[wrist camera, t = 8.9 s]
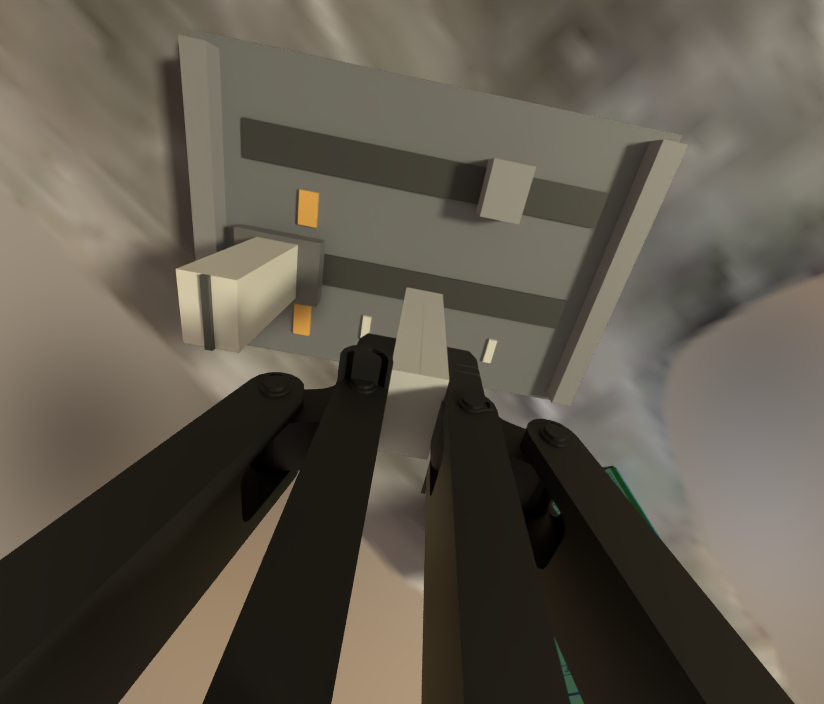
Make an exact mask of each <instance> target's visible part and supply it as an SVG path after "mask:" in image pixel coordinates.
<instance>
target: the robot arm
mask: <svg viewBox="0 0 824 704" xmlns="http://www.w3.org/2000/svg"><path fill="white" fill-rule="evenodd" d="M478 368H479V367H478V363H477V359H476V358H475V357H474V356H473V355H472V354H471V352H470V351H466V350H461V349H456V348H450V347H447V344H446V331H445V317H444V304H443V294H438V293H433V292H428V291H423V290H418V289H413V288H408V287H407V288H406V293H405V298H404V303H403V308H402V313H401V319H400V324H399V329H398V334H397V338H392V337H386V336H381V335H376V334H371V333H367V334H366V335H364V336H363V337H361V338H359V341H358V343H357V345H352V346H349V347H347V348H344V349H343V350H342V351H341V353H340V361H339V370H338V379H337V383H336V385H334V386H332V387H329V388H325V389H307V390H304V384H303V383H302V381H301V380H300V379H299V378H297V377H295V376H293V375H291V374H286V373H281V372H270V373H265V374H261V375H258V376H256V377H254V378H252V379H250V380H249V381H248V382H246V383H245V384H243V385H242V386H241V387H239V388H238V389H237V390H235V391H234V392H232V393H231V394H230V395H228V396H227V397H225V398H224V399H223V400H221V401H220V402H219V403H217V404H216V405H214V406H213V407H212V408H210V409H209V410H207V411H206V412H205V413H203V414H202V415H201V416H199V417H198V418H196V419H195V420H194V421H193V422H191V423H189V424H188V425H187V426H185V427H184V428H183V429H181V430H180V431H178V432H177V433H176V434H174V435H173V436H171V437H170V438H169V439H167V440H166V441H165V442H163V443H162V444H160V445H159V446H158V447H157V448H155V449H153V450H152V451H151V452H149V453H148V454H147V455H145V456H144V457H143V458H141V459H140V460H138V461H137V462H135V463H134V464H133V465H131V466H130V467H129V468H127V469H126V470H124V471H123V472H122V473H120V474H119V475H117V476H116V477H115V478H113V479H112V480H111V481H109V482H108V483H106V484H105V485H104V486H102V487H101V488H100V489H98V490H97V491H95V492H94V493H92V494H91V495H90V496H88V497H87V498H86V499H84V500H83V501H81V502H80V503H79V504H77V505H76V506H74V507H73V508H72V509H70V510H69V511H68V512H66V513H65V514H63V515H62V516H61V517H59V518H58V519H57V520H55V521H54V522H52V523H51V524H50V525H48V526H47V527H46V528H44V529H43V530H41V531H40V532H38V533H37V534H36V535H34V536H33V537H32V538H30V539H29V540H27V541H26V542H25V543H23V544H22V545H21V546H19V547H18V548H17V549H15V550H14V551H12V552H11V553H9V554H8V555H7V556H5V557H4V558H3V559H1V560H0V704H118V703H119V702H120V700H121V699H122V698H123V697H124V695H125V694H126V693H127V692H128V690H129V689H130V688H131V686H132V685H133V684H134V683H135V681H136V680H137V679H138V678H139V676H140V675H141V674H142V672H143V671H144V670H145V669H146V667H147V666H148V665H149V663H150V662H151V661H152V660H153V658H154V657H155V656H156V654H157V653H158V652H159V651H160V649H161V648H162V647H163V646H164V644H165V643H166V642H167V641H168V639H169V638H170V637H171V635H172V634H173V633H174V632H175V630H176V629H177V628H178V626H179V625H180V624H181V623H182V621H183V620H184V619H185V618H186V616H187V615H188V614H189V612H190V611H191V610H192V608H193V607H194V606H195V605H196V604H197V602H198V601H199V600H200V598H201V597H202V596H203V595H204V593H205V592H206V591H207V589H208V588H209V587H210V586H211V584H212V583H213V582H214V581H215V579H216V578H217V577H218V575H219V574H220V573H221V572H222V570H223V569H224V568H225V567H226V565H227V564H228V563H229V561H230V560H231V559H232V557H233V556H234V555H235V554H236V552H237V551H238V550H239V549H240V547H241V546H242V545H243V544H244V542H245V541H246V540H247V538H248V537H249V536H250V535H251V533H252V532H253V531H254V530H255V528H256V527H257V526H258V524H259V523H260V522H261V520H262V519H263V518H264V517H265V515H266V514H267V513H268V512H269V510H270V509H271V507H273V505H274V504H275V503H276V501H277V500H278V499H279V498H280V496H281V495H282V494H283V493H284V491H285V490H286V489H287V487H288V486H289V485H290V484H291V482H292V481H293V480H294V478H295V477H296V476H297V474H298V471H299V470H300V471H299V474H298V476H297V478H296V481H295V483H294V486H293V488H292V491H291V493H290V496H289V498H288V500H287V503H286V505H285V507H284V510H283V512H282V514H281V517H280V520H279V522H278V524H277V526H276V529H275V531H274V534H273V536H272V538H271V541H270V543H269V545H268V548H267V551H266V553H265V555H264V557H263V560H262V562H261V565H260V567H259V570H258V572H257V574H256V577H255V579H254V581H253V584H252V586H251V589H250V591H249V593H248V596H247V598H246V601H245V603H244V605H243V608H242V610H241V613H240V615H239V617H238V620H237V622H236V625H235V627H234V629H233V632H232V634H231V636H230V639H229V642H228V644H227V646H226V648H225V651H224V653H223V656H222V658H221V660H220V663H219V665H218V668H217V670H216V672H215V675H214V677H213V680H212V682H211V684H210V687H209V689H208V692H207V694H206V696H205V699H204V701H203V704H331V702H332V696H333V691H334V685H335V680H336V674H337V669H338V663H339V658H340V652H341V647H342V642H343V636H344V631H345V625H346V619H347V614H348V608H349V603H350V598H351V592H352V587H353V581H354V576H355V570H356V565H357V559H358V554H359V548H360V543H361V537H362V532H363V527H364V521H365V516H366V510H367V505H368V499H369V494H370V488H371V483H372V477H373V472H374V466H375V461H376V455H377V451H381V452H386V453H392V454H398V455H403V456H409V457H415V458H420V459H426V460H427V459H428V455H429V452H430V448H431V459H430V463H429V466H428V470H427V474H426V477H425V481H424V484H423V488H422V491H421V493H424V494H425V492H426V520H425V566H424V611H423V657H422V658H423V659H422V662H423V663H422V704H571V702H570V698H569V694H568V690H567V686H566V682H565V678H564V674H563V670H562V666H561V662H560V658H559V655H558V651H557V647H556V643H555V640H556V642H557V644H558V647H559V649H560V651H561V653H562V656H563V658H564V660H565V662H566V665H567V667H568V669H569V671H570V674H571V676H572V678H573V680H574V683H575V685H576V687H577V689H578V692H579V694H580V696H581V698H582V701H583V703H584V704H794V702H793V701H792V700H791V699H790V698H789V696H788V695H787V694H786V693H785V691H784V690H783V689H782V688H781V687H780V685H779V684H778V683H777V682H776V680H775V679H774V678H773V677H772V675H771V674H770V673H769V672H768V671H767V669H766V668H765V667H764V666H763V664H762V663H761V662H760V661H759V659H758V658H757V657H756V656H755V655H754V653H753V652H752V651H751V650H750V648H749V647H748V646H747V645H746V644H745V642H744V641H743V640H742V639H741V637H740V636H739V635H738V634H737V632H736V631H735V630H734V629H733V628H732V626H731V625H730V624H729V623H728V621H727V620H726V619H725V618H724V616H723V615H722V614H721V613H720V612H719V610H718V609H717V608H716V607H715V605H714V604H713V603H712V602H711V600H710V599H709V598H708V597H707V596H706V594H705V593H704V592H703V591H702V589H701V588H700V587H699V586H698V585H697V583H696V582H695V581H694V580H693V578H692V577H691V576H690V575H689V573H688V572H687V571H686V570H685V569H684V567H683V566H682V565H681V564H680V562H679V561H678V560H677V559H676V557H675V556H674V555H673V554H672V553H671V551H670V550H669V549H668V548H667V546H666V545H665V544H664V543H663V542H662V540H661V539H660V538H659V537H658V535H657V534H656V533H655V532H654V530H653V529H652V528H651V527H650V526H649V524H648V523H647V522H646V521H645V519H644V518H643V517H642V516H641V514H640V513H639V512H638V511H637V510H636V508H635V507H634V506H633V505H632V503H631V502H630V501H629V500H628V499H627V497H626V496H625V495H624V494H623V492H622V491H621V490H620V489H619V487H618V486H617V485H616V484H615V483H614V481H613V480H612V479H611V478H610V476H609V475H608V474H607V473H606V471H605V470H604V469H603V468H602V467H601V465H600V464H599V463H598V462H597V460H596V459H595V458H594V457H593V456H592V454H591V453H590V452H589V451H588V449H587V448H586V447H585V446H584V444H583V443H582V442H581V441H580V440H579V438H578V437H577V436H576V435H575V434H574V433H573V432H572V431H571V430H569V429H568V428H566V427H565V426H563V425H562V424H560V423H557V422H555V421H551V420H546V419H535V420H532V421H531V422H529V423H528V425H527V428H526V429H524V428H521V427H519V426H516V425H514V424H511V423H509V422H507V421H505V420H503V419H501V418H500V417H499V416H498V412H497V409H496V407H495V405H494V403H493V402H491V401H490V400H489V399H488V398H487V397H485V395H484V390H483V386H482V381H481V377H480V372H479V369H478ZM553 502H554V503H555V504H556V506H557V508H558V509H559V511H560V514H558V513H557V512H556V511H555V509H554V507H553V506H552V504H553ZM554 638H555V639H554Z"/></svg>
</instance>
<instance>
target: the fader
mask: <svg viewBox="0 0 824 704" xmlns="http://www.w3.org/2000/svg"><path fill="white" fill-rule="evenodd" d="M324 253H325V240H322V239H316V238H311V237H306V236H301V235H296V234H291V233H286V232H280V231H275V230H270V229H265V228H260V227H255V226H250V225H245V224H241V225H237V226H234V246H232V247H230V248H227V249H225V250H222V251H220V252H217V253H214V254H212V255H209V256H207V257H204V258H202V259H199V260H197V261H194V262H192V263H189V264H187V265H184V266H182V267H179V268H177V269H176V277H177V287H178V296H179V306H180V316H181V326H182V335H183V343H187V344H192V345H198V346H204V347H205V350H211V351H213V350H214V349H220V350H226V351H231V352H237V353H239V352H240V351H241V350H242V349H243V348H245V347H246V346H247V345H248V344H249V343H250V342H251V341H252V340H253V339H254V338H255V337H256V336H257V335H258V334H259V333H260V332H261V331H262V330H263V329H264V328H265V327H266V326H267V325H268V324H269V323H270V322H271V321H272V320H273V319H274V318H275V317H277V316H278V315H279V314H280V313H281V312H282V311H283V310H284V309H285V308H286V307H287V306H288V305H289V304H290V303H291V302H293V303H298V304H303V305H309V306H314V307H317V305H318V304H319V303H320V302H321V292H322V279H323V266H324Z"/></svg>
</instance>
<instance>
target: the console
mask: <svg viewBox="0 0 824 704" xmlns="http://www.w3.org/2000/svg"><path fill="white" fill-rule="evenodd" d="M188 30H189V37H186V36H182V35H178V40H179V53H180V66H181V79H182V92H183V105H184V118H185V130H186V143H187V156H188V169H189V182H190V195H191V208H192V221H193V234H194V246H195V259H196V261H197V260H199V259H202V258H204V257H207V256H209V255H212V254H214V253H217V252H220V251H222V250H225V249H227V248H230V247H232V246H234V226H237V225H241V224H245V225H250V226H255V227H260V228H265V229H270V230H275V231H280V232H286V233H291V234H296V235H301V236H306V237H311V238H316V239H322V240H325V253H324V266H323V279H322V292H321V302H320V303H319V304H318V305H317V307H314V306H309V305H303V304H298V303H293V302H291V303H290V304H289V305H288V306H287V307H286V308H285V309H284V310H283V311H282V312H281V313H280V314H279V315H278V316H277V317H275V318H274V319H273V320H272V321H271V322H270V323H269V324H268V325H267V326H266V327H265V328H264V329H263V330H262V331H261V332H260V333H259V334H258V335H257V336H256V337H255V338H254V339H253V340H252V341H251V342H250V343H249V344H248V345H249V346H255V347H260V348H266V349H271V350H277V351H282V352H288V353H293V354H299V355H304V356H310V357H315V358H321V359H327V360H332V361H338V362H339V361H340V353H341V351H342V350H343V349H344V348H347V347H349V346H352V345H357V343H358V341H359V338H361V337H363V336H364V335H366V334H367V333H371V334H376V335H381V336H386V337H392V338H397V334H398V329H399V324H400V319H401V313H402V308H403V303H404V298H405V293H406V288H407V287H408V288H413V289H418V290H423V291H428V292H433V293H438V294H443V304H444V317H445V331H446V344H447V347H450V348H456V349H461V350H466V351H470V352H471V354H472V355H473V356H474V357H475V358H476V359H477V363H478V367H479V368H478V369H479V372H480V377H481V381H482V386H483V388H487V389H492V390H498V391H503V392H509V393H514V394H520V395H525V396H531V397H537V398H542V399H548V400H551V402H552V403H556V404H561V405H567V406H570V405H571V403H572V400H573V398H574V396H575V394H576V392H577V389H578V387H579V385H580V383H581V381H582V378H583V376H584V374H585V372H586V370H587V367H588V365H589V363H590V361H591V359H592V356H593V354H594V352H595V350H596V347H597V345H598V343H599V341H600V339H601V336H602V334H603V332H604V330H605V328H606V325H607V323H608V321H609V319H610V317H611V314H612V312H613V310H614V308H615V306H616V303H617V301H618V299H619V297H620V294H621V292H622V290H623V288H624V286H625V283H626V281H627V279H628V277H629V275H630V272H631V270H632V268H633V266H634V264H635V261H636V259H637V257H638V255H639V253H640V250H641V248H642V246H643V244H644V242H645V239H646V237H647V235H648V233H649V230H650V228H651V226H652V224H653V222H654V219H655V217H656V215H657V213H658V211H659V208H660V206H661V204H662V202H663V200H664V197H665V195H666V193H667V191H668V189H669V186H670V184H671V182H672V180H673V177H674V175H675V173H676V171H677V169H678V166H679V164H680V162H681V160H682V158H683V155H684V153H685V151H686V149H687V147H688V144H683V143H679V141H680V139H681V137H682V135H678V134H673V133H669V132H664V131H660V130H655V129H650V128H646V127H641V126H636V125H632V124H627V123H623V122H618V121H613V120H609V119H604V118H600V117H595V116H590V115H586V114H581V113H576V112H572V111H567V110H563V109H558V108H553V107H549V106H544V105H539V104H535V103H530V102H526V101H521V100H516V99H512V98H507V97H502V96H498V95H493V94H489V93H484V92H479V91H475V90H470V89H465V88H461V87H456V86H452V85H447V84H442V83H438V82H433V81H429V80H424V79H419V78H415V77H410V76H405V75H401V74H396V73H392V72H387V71H382V70H378V69H373V68H368V67H364V66H359V65H355V64H350V63H345V62H341V61H336V60H331V59H327V58H322V57H318V56H313V55H308V54H304V53H299V52H295V51H290V50H285V49H281V48H276V47H271V46H267V45H262V44H258V43H253V42H248V41H244V40H239V39H234V38H230V37H225V36H221V35H216V34H211V33H207V32H202V31H197V30H193V29H188Z"/></svg>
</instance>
